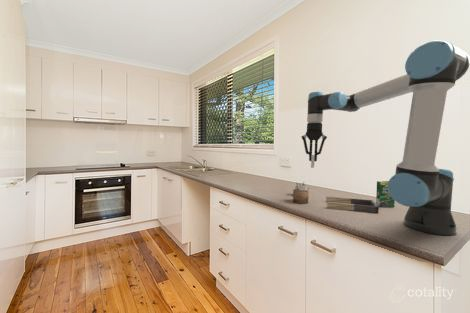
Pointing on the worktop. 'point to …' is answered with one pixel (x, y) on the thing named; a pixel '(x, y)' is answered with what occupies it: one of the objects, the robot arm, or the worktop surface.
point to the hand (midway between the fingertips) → (312, 167)
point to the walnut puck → (300, 196)
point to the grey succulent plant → (301, 187)
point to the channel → (352, 204)
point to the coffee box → (383, 195)
